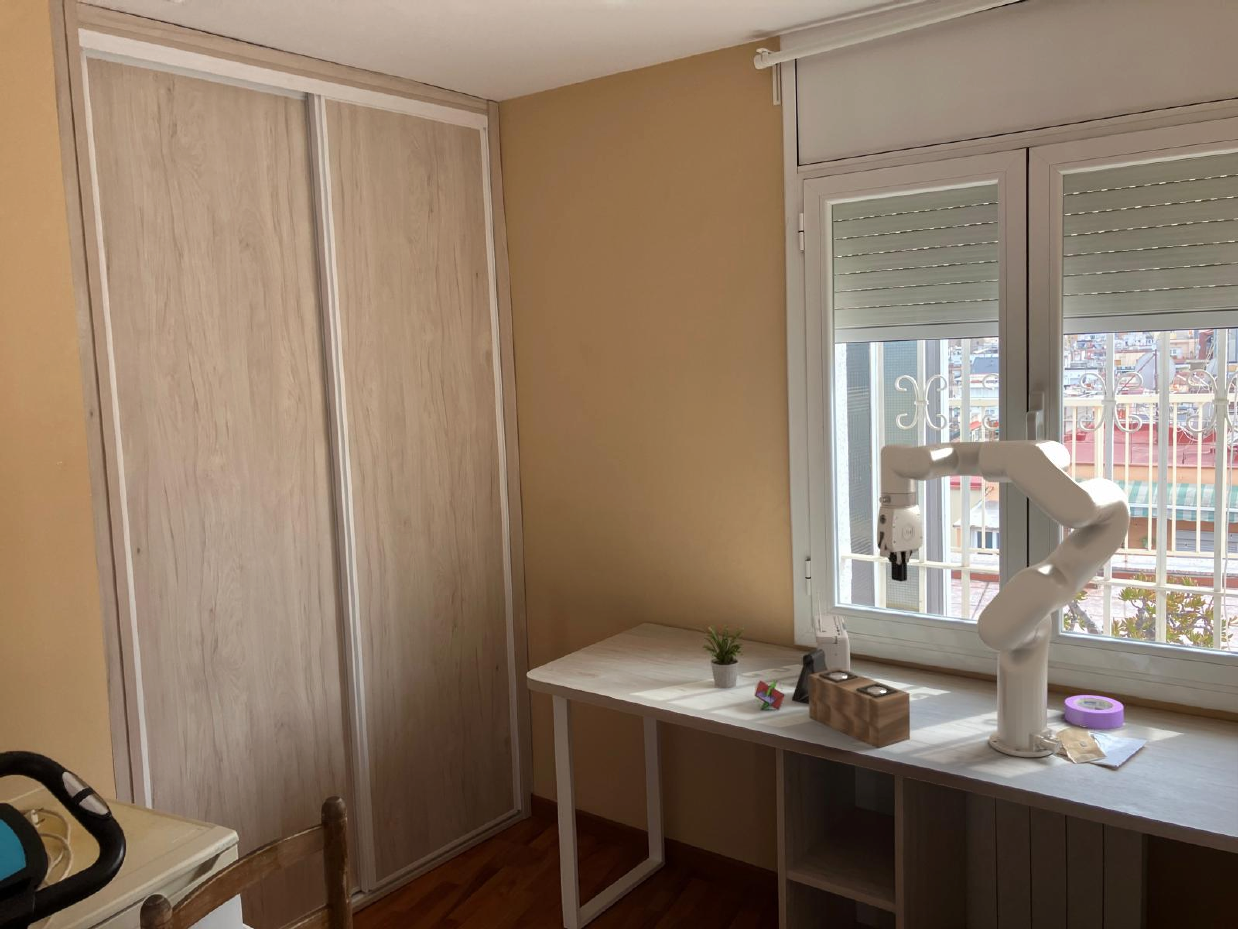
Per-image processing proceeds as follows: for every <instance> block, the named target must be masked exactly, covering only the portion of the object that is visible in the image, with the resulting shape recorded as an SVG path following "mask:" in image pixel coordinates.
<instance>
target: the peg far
mask: <svg viewBox="0 0 1238 929" xmlns="http://www.w3.org/2000/svg"><path fill="white" fill-rule="evenodd" d="M829 677H832V678H834V679H837V680H839V679H843V678H847V677H848V675H847V674H845V673H831V674H830V675H829Z"/></svg>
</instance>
